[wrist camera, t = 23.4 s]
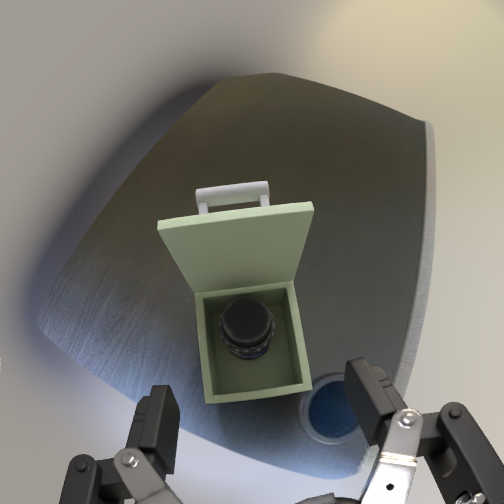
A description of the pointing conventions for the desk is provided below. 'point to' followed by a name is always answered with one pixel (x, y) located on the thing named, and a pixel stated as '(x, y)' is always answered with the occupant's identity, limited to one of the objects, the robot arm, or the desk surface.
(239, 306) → the pill bottle
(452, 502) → the robot arm
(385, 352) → the desk surface
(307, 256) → the desk surface
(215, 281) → the green box lid
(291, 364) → the pale green open box
